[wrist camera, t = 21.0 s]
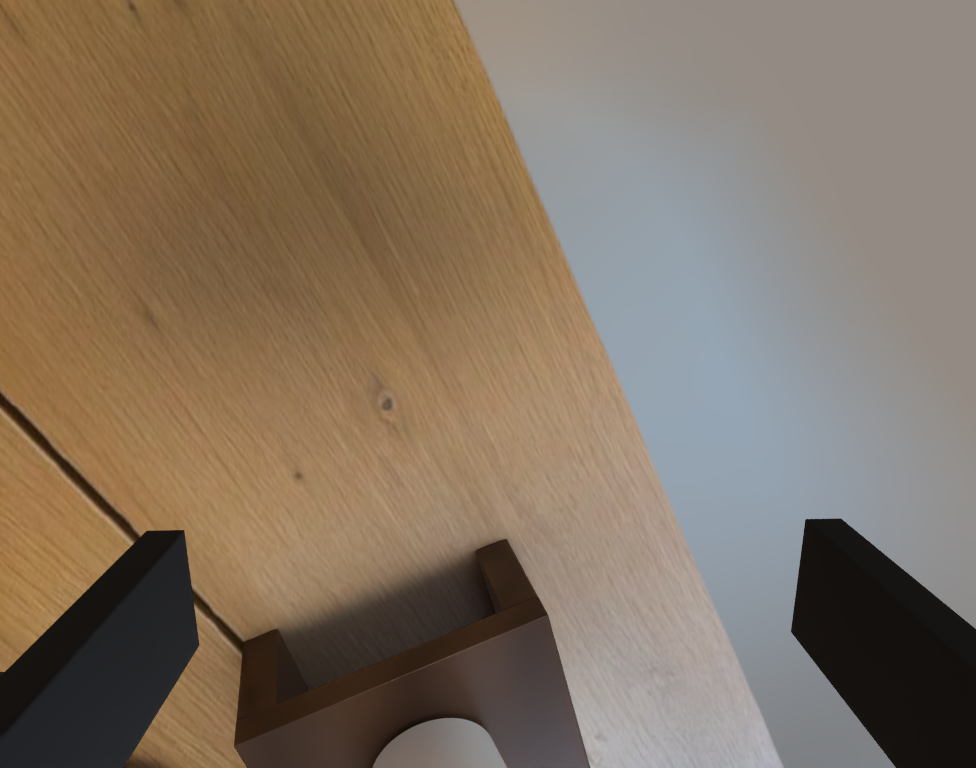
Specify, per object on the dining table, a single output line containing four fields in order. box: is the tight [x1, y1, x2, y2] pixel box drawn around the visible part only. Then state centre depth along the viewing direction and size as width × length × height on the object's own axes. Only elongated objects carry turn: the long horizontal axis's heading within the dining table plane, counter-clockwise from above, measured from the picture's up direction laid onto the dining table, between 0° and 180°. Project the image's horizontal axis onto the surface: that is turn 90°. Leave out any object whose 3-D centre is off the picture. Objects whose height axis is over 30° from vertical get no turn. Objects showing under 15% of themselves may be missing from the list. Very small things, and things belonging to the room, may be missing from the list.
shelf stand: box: [234, 539, 590, 768], centre depth 38 cm, size 16×13×7 cm
